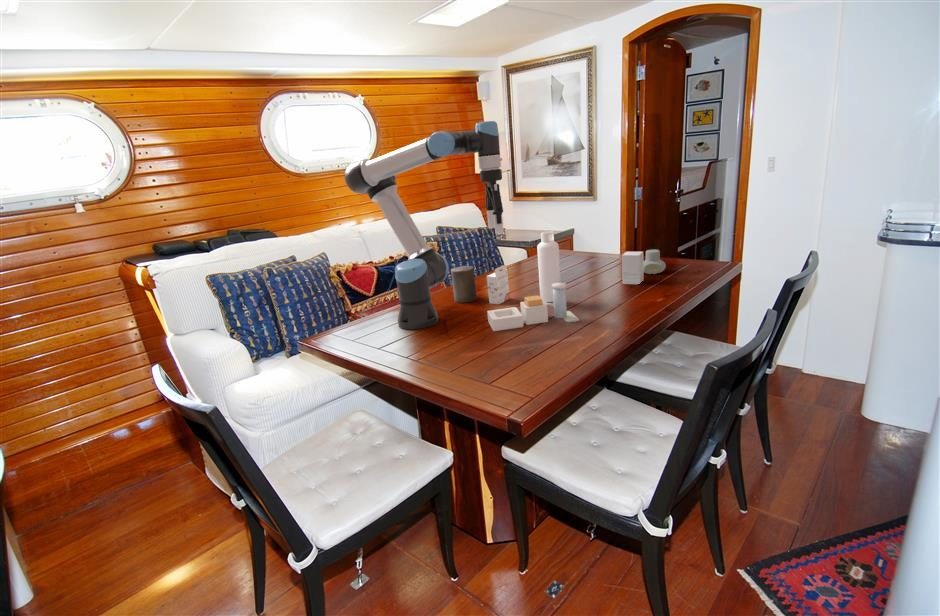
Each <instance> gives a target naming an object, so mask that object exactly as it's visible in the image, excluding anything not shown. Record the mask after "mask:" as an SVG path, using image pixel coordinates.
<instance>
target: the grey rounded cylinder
mask: <svg viewBox="0 0 940 616" xmlns="http://www.w3.org/2000/svg"><path fill="white" fill-rule="evenodd" d="M552 288H553V302H552V303H554V307H553V315H554V316H553V317H554V318H555V319H563V320H564V319H565V318H567V311H568V310H567V284H566V282H561V283H554V284H552Z"/></svg>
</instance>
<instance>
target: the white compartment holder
mask: <svg viewBox="0 0 940 616" xmlns="http://www.w3.org/2000/svg"><path fill="white" fill-rule="evenodd" d="M519 304H520V310H519V309H518V308H517V307H516V306H514V307H513V306H512V307H506V308H500V309H492V310H487V311H486V312H487V313H486V314H487V320H488V321H487V322H488V324H489V325H490V327H491V329H492V331H493V332H498V331H504V330H510V329H511V330H512V329H517V328H518V329H519V328H524V324H526V325H527V326H528V325H535V324H541V323H542V324H543V323H549V315H548V314H549V312H548V305H547V304H546V303H545V302H543V301H542V305H538V306H531V307H527V306H526V305H525V300H524V301H520V302H519Z"/></svg>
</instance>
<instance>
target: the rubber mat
mask: <svg viewBox="0 0 940 616" xmlns="http://www.w3.org/2000/svg"><path fill="white" fill-rule="evenodd" d="M563 320H564V321H565V322H566V323H576V322H580V319H579V318H578V316H577V315H575V314H574V313H572V311H570V310H567V318H565V319H563Z"/></svg>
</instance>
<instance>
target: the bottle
mask: <svg viewBox="0 0 940 616" xmlns="http://www.w3.org/2000/svg"><path fill="white" fill-rule="evenodd" d="M554 234H555V233H554V231H552V230H551V231H550V230H549V231H547V230H546V231H542V232H540V240H541V241H540V242H539V243H538V244H537V245H536V247H537V249H536V251H537V267H538V281H539V282H538V284H539V297H540V298H542V301H543V302H545V303H546V304H547V306H549V307H550V308H554V302H553V288H552V284H554V283H562V282H561V262H560V247H559V246H560V245H559V243H558V242H557V241H555V235H554Z"/></svg>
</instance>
